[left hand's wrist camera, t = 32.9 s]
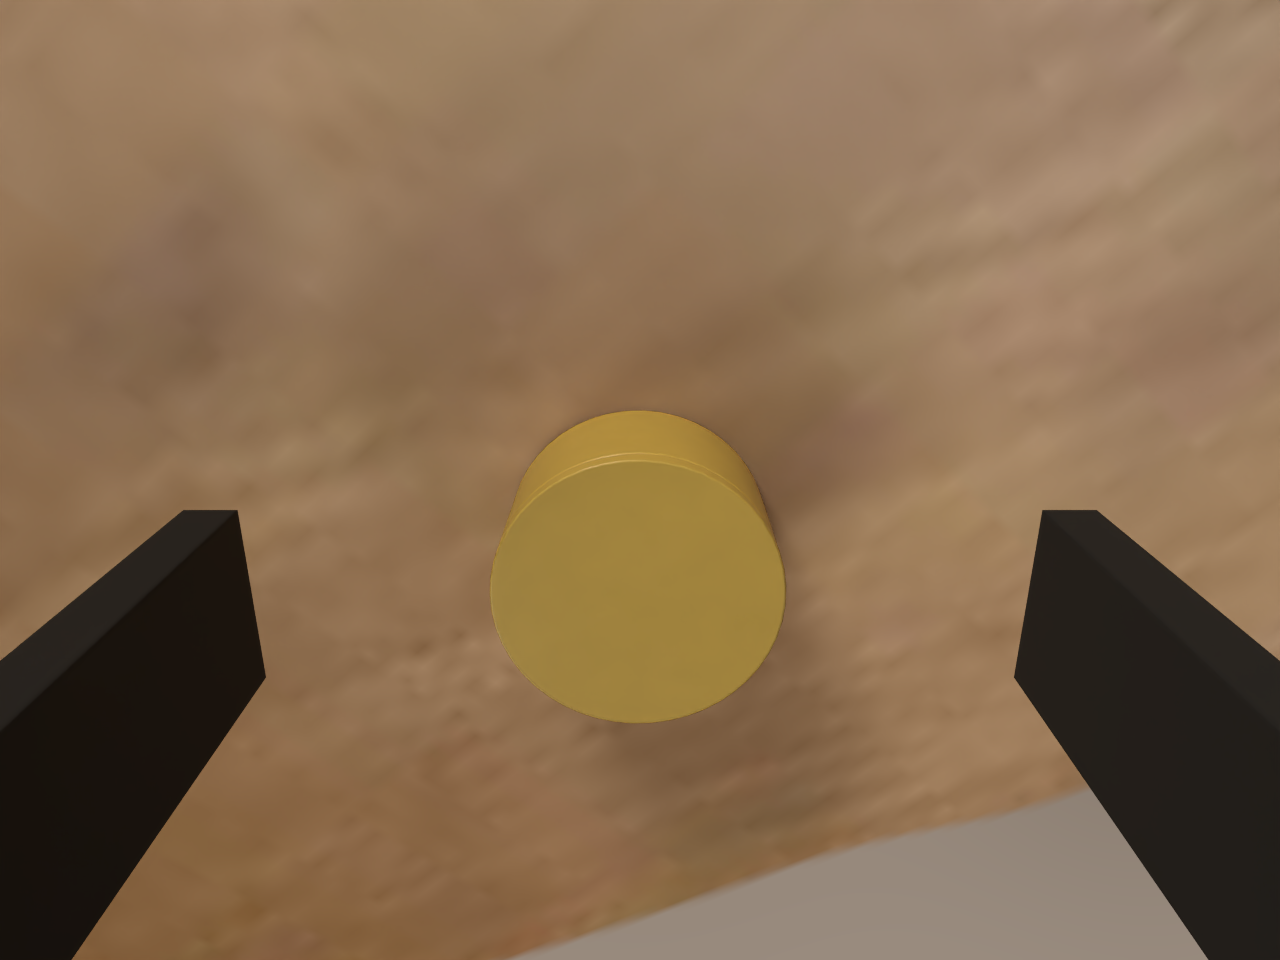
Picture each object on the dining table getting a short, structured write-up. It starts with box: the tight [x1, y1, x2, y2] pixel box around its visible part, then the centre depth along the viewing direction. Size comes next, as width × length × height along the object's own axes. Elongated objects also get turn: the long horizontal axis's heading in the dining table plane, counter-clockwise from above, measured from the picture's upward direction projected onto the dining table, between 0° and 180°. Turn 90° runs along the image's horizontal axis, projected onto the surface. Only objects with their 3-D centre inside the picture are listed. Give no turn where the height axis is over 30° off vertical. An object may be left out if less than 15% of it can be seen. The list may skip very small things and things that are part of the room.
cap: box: [490, 411, 786, 723], centre depth 14 cm, size 4×4×2 cm
